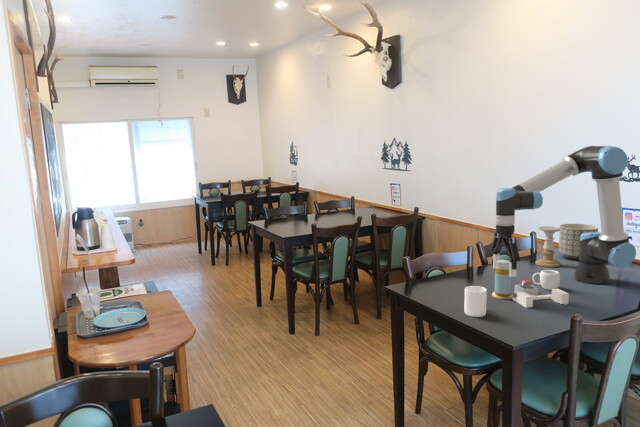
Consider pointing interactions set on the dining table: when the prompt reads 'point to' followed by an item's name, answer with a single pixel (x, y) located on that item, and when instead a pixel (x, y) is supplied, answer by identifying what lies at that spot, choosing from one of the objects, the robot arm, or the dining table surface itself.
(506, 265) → the bottle
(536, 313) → the dining table surface
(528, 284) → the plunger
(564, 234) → the planter
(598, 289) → the dining table surface
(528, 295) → the housing
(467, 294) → the cup
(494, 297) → the pad
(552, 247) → the candle holder
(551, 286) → the mug
